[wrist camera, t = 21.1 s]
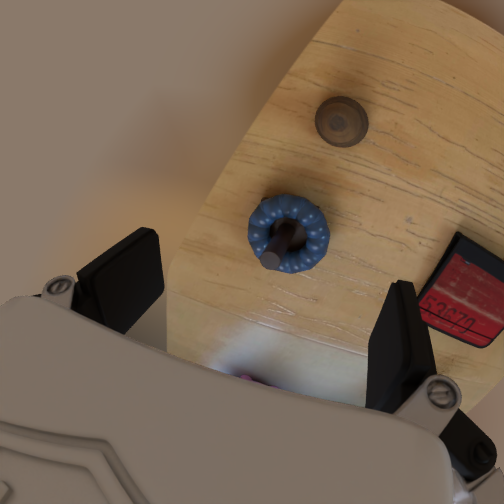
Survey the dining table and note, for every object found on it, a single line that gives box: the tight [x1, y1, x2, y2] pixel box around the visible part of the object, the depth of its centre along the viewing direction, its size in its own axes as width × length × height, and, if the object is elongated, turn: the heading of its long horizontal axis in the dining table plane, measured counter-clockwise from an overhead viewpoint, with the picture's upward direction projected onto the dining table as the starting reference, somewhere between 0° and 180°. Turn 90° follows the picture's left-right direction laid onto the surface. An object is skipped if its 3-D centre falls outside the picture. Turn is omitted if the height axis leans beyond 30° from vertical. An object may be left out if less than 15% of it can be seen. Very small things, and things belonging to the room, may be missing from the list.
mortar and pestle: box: [315, 96, 369, 147], centre depth 25 cm, size 7×6×18 cm
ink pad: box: [417, 231, 504, 348], centre depth 35 cm, size 16×2×21 cm
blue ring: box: [248, 194, 330, 274], centre depth 39 cm, size 11×11×3 cm
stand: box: [260, 197, 319, 270], centre depth 37 cm, size 8×8×10 cm
